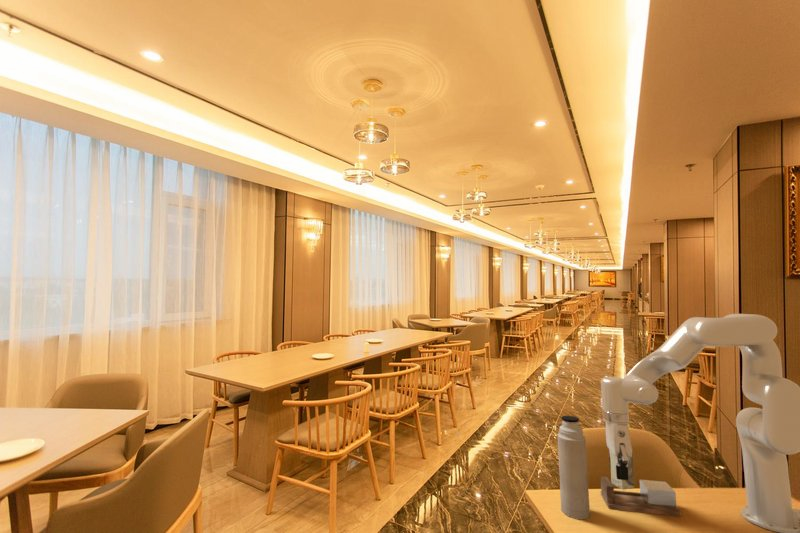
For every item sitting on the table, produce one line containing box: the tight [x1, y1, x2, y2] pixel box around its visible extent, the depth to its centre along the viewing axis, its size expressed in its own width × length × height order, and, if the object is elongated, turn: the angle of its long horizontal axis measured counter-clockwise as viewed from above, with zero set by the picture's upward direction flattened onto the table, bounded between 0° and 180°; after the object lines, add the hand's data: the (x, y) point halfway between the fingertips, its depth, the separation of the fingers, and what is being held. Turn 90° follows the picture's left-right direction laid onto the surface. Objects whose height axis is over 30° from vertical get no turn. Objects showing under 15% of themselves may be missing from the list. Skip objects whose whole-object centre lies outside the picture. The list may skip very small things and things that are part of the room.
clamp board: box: [600, 476, 682, 517], centre depth 117 cm, size 20×8×6 cm, turn 76°
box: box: [609, 445, 635, 491], centre depth 119 cm, size 5×4×13 cm
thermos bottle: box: [556, 415, 590, 520], centre depth 115 cm, size 8×8×28 cm
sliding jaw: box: [639, 479, 678, 508], centre depth 116 cm, size 8×6×5 cm
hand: (618, 474), depth 119 cm, fingers closed on box, 5 cm apart
